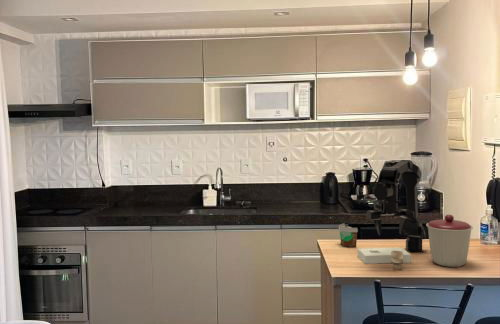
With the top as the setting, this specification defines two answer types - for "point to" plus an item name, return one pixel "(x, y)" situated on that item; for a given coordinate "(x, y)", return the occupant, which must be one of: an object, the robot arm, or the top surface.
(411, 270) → the top surface
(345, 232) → the food container
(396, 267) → the peg
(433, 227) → the canister
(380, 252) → the board
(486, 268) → the top surface
